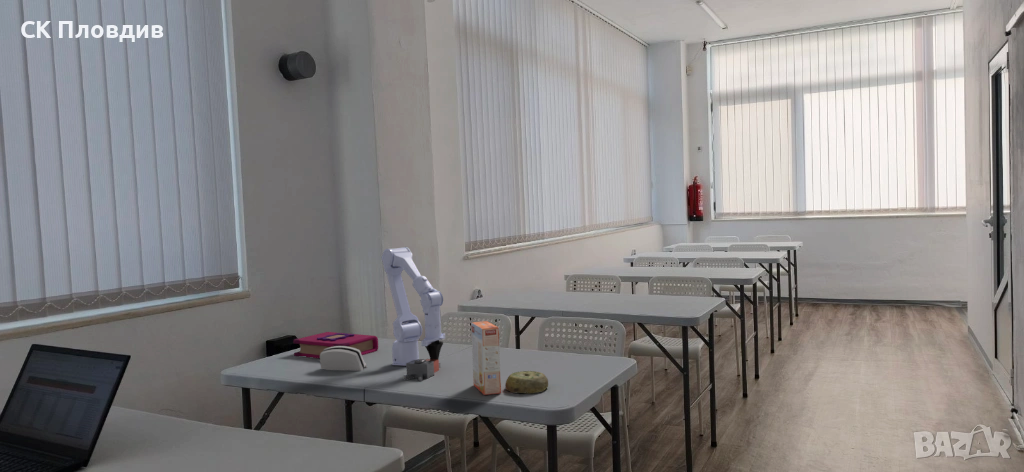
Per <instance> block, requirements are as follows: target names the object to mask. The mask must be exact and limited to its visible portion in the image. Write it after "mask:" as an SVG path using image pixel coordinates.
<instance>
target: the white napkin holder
mask: <svg viewBox="0 0 1024 472" xmlns="http://www.w3.org/2000/svg"><path fill="white" fill-rule="evenodd" d="M319 361H320V362H319V363H320V368H321V369H326V370H325V371H358V372H360V371H363V370H364V369H367V368H368V366H367V363H366V362H365V360H364V357H363V355H361V352H360V350H358V349H356V348H352V347H347V346H334V347H330V348H326V349H324V350H323V351H322V352H321V354H320V359H319ZM321 369H320V370H321Z"/></svg>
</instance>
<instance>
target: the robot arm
mask: <svg viewBox="0 0 1024 472" xmlns="http://www.w3.org/2000/svg"><path fill="white" fill-rule="evenodd" d="M413 260H414V259H413V252H412V251H411V249H410V248H409V247H407V246H404V247H398V248H397V247H396V248H385V249H384V250H383V252H382V254H381V261H382V265H383V270H384V272H385V274H386V278H387V282H388V285H389V289H390V293H391V297H392V301H393V304H394V309H395V313H396V316H397V317H396V318H395V320H394V321H393V322H392V326H393V329H392V330H393V337H394V338H395V340H394V342H392V345H391V352H392V353H391V354H392V362H391V366H406V363H408V362H410V361H412V360H417V359H420V353H419V340H420V339H421V338H420V337H421V336H422V335H423V326H422V324H421V322H420V321H419V317H418V316H417V315H415V314H413V313H412V311H411V307H410V303H409V299H408V295H407V292H406V288H405V284H404V280H403V277H402V272H403V271H404V272H405V273H406V274H407V275H408V276H409V277H410V278H411V280H412V287H413V288H414V290H415V292H416V293H417V294H418V296H419V298H420V300H419V301H420V305H421V307H422V313H423V314H424V330H425V331H424V333H425V336H424V338H423V340H420V341H421V343H420V344H421V347H425V349H426V352H427V353H428V355H429V359H439V357H440V353H441V349H442V347H443V345H444V341H441V340H445V339H446V333H444V332H442V323H441V322H442V321H441V319H442V317H441V306H442V305H443V304H444V296H443V294H442V292H441V291H440V290H437V289H436V288H434V287H433V285H432V284H431V283H430V281H429V280H428V278H427V277H426V276H425V275H421V273H420V271H419V270H418V267H417V265H416V264H415V262H414V261H413Z"/></svg>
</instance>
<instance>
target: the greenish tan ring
mask: <svg viewBox="0 0 1024 472" xmlns="http://www.w3.org/2000/svg"><path fill="white" fill-rule="evenodd" d="M548 386H549V379H548V377H547V376H546V375H545V374H544V372H541V371H534V370H522V371H516V372H512V373H511V374H509V375H508V377H507V379H506V381H505V389H506V390H507V391H508V392H510V393H513V394H514V393H515V394H517V393H519V394H520V393H521V394H527V395H528V394H529V395H530V394H537V393H542V392H544V391H545V390H547V388H548Z"/></svg>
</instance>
